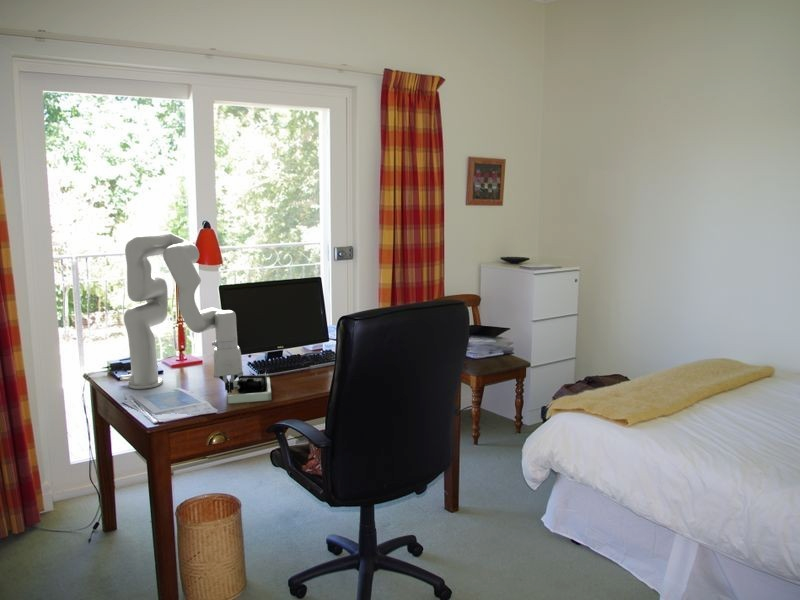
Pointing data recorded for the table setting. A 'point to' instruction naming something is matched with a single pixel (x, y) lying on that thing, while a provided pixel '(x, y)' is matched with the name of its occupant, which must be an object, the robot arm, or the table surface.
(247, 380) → the end cap
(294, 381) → the table surface
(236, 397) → the holder
